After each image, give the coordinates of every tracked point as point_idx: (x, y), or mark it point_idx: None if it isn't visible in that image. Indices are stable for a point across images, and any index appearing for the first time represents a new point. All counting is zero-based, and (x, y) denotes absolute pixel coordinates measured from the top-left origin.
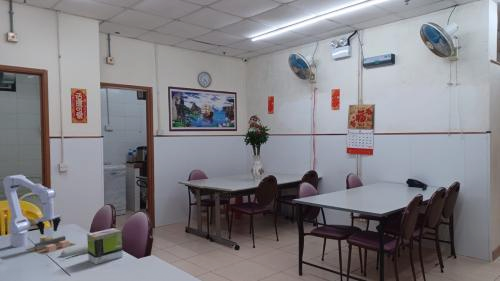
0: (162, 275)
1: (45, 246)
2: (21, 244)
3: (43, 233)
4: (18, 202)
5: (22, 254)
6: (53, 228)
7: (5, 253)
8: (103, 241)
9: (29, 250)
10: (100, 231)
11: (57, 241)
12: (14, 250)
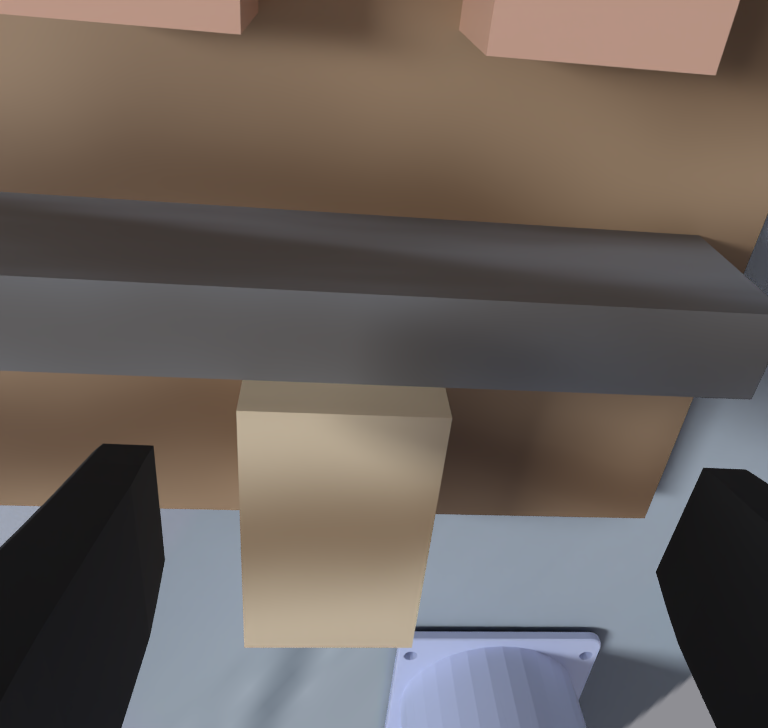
0: None
1: (711, 57)
2: (542, 700)
3: (752, 490)
4: None
5: (740, 423)
6: (136, 671)
7: None
8: None
9: (679, 416)
10: None
11: (170, 245)
12: (600, 651)
